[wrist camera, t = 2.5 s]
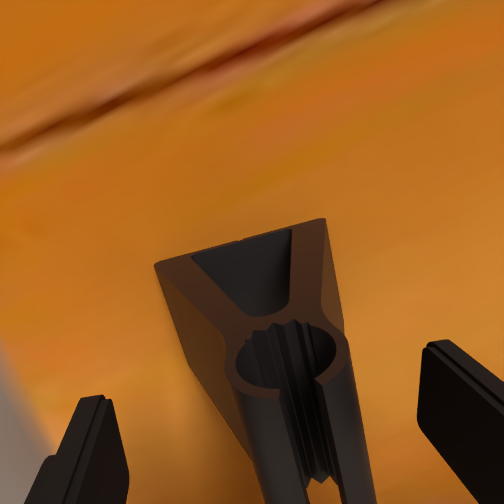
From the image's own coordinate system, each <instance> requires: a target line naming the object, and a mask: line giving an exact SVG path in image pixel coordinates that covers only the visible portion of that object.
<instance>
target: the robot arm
mask: <svg viewBox="0 0 504 504" xmlns="http://www.w3.org/2000/svg"><path fill="white" fill-rule="evenodd" d="M417 422H418V425H419V427H420V429H421V431H422V432H423V433H424V434H425V436H426V437H427V438H428V440H429V441H430V442H431V443H432V445H433V446H434V447H435V448H436V450H437V451H438V452H439V454H440V455H441V456H442V457H443V459H444V460H445V461H446V462H447V464H448V465H449V466H450V468H451V469H452V470H453V471H454V473H455V474H456V475H457V476H458V478H459V479H460V480H461V482H462V483H463V484H464V485H465V487H466V488H467V489H468V490H469V492H470V493H471V494H472V496H473V497H474V498H475V499H476V501H477V502H478V503H479V504H504V382H503V381H502V380H500V379H499V378H498V377H496V376H495V375H494V374H493V373H491V372H490V371H489V370H487V369H486V368H485V367H484V366H482V365H481V364H480V363H479V362H477V361H476V360H475V359H473V358H472V357H471V356H470V355H468V354H467V353H466V352H464V351H463V350H462V349H461V348H459V347H458V346H457V345H455V344H454V343H453V342H452V341H450V340H447V339H445V340H439V341H432V342H429V343H428V344H427V346H426V348H424V349H423V351H422V360H421V372H420V384H419V396H418V408H417ZM128 489H129V470H128V466H127V461H126V457H125V453H124V449H123V444H122V440H121V436H120V432H119V427H118V423H117V419H116V414H115V410H114V406H113V402H112V400H111V399H105V397H104V395H96V396H90V397H83V398H81V399H80V400H79V402H78V404H77V407H76V409H75V411H74V414H73V416H72V418H71V421H70V423H69V425H68V428H67V430H66V432H65V435H64V437H63V439H62V441H61V444H60V446H59V448H58V451H57V453H56V455H51V456H48V457H47V458H46V459H45V460H44V462H43V464H42V466H41V468H40V470H39V472H38V475H37V476H36V479H35V481H34V483H33V485H32V487H31V489H30V492H29V494H28V496H27V498H26V500H25V502H24V504H126V500H127V494H128Z"/></svg>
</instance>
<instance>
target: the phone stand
mask: <svg viewBox="0 0 504 504" xmlns="http://www.w3.org/2000/svg"><path fill="white" fill-rule="evenodd" d="M154 267H155V270H156V273H157V276H158V279H159V281H160V284H161V287H162V290H163V293H164V296H165V299H166V302H167V304H168V307H169V310H170V313H171V316H172V319H173V322H174V324H175V327H176V330H177V333H178V336H179V339H180V342H181V345H182V347H183V350H184V353H185V356H186V359H187V362H188V365H189V366H190V368H191V369H192V371H193V372H194V374H195V375H196V377H197V378H198V380H199V381H200V383H201V384H202V386H203V387H204V389H205V390H206V392H207V393H208V395H209V396H210V398H211V399H212V401H213V403H214V404H215V406H216V407H217V409H218V410H219V412H220V413H221V415H222V416H223V418H224V419H225V421H226V422H227V424H228V425H229V427H230V428H231V430H232V431H233V433H234V434H235V436H236V437H237V439H238V441H239V442H240V444H241V445H242V447H243V448H244V450H245V451H246V453H247V454H248V456H249V457H250V459H251V460H252V462H253V465H254V468H255V471H256V475H257V478H258V481H259V484H260V487H261V491H262V494H263V497H264V500H265V503H266V504H310V503H309V499H308V495H307V491H306V488H307V487H308V485H309V482H310V480H311V478H313V479H315V480H316V481H318V482H320V483H323V482H324V481H325V480H326V479H327V478H328V477H329V476H331V478H332V479H333V480H334V482H335V483H336V484H337V485H338V488H339V493H340V497H341V502H342V504H377V502H376V496H375V490H374V485H373V479H372V473H371V468H370V462H369V456H368V451H367V445H366V440H365V434H364V428H363V423H362V417H361V411H360V406H359V400H358V394H357V389H356V383H355V378H354V372H353V366H352V361H351V355H350V349H349V344H348V341H347V339H346V337H345V335H344V319H343V314H342V308H341V303H340V297H339V291H338V286H337V280H336V275H335V269H334V263H333V258H332V252H331V246H330V241H329V235H328V230H327V224H326V219H325V218H319V219H315V220H311V221H307V222H304V223H300V224H296V225H292V226H289V227H285V228H281V229H278V230H274V231H270V232H266V233H263V234H259V235H255V236H252V237H248V238H244V239H243V240H240V241H233V242H229V243H226V244H222V245H218V246H214V247H211V248H207V249H203V250H200V251H196V252H192V253H188V254H185V255H181V256H177V257H174V258H170V259H166V260H162V261H159V262H157V263H155V264H154Z"/></svg>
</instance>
